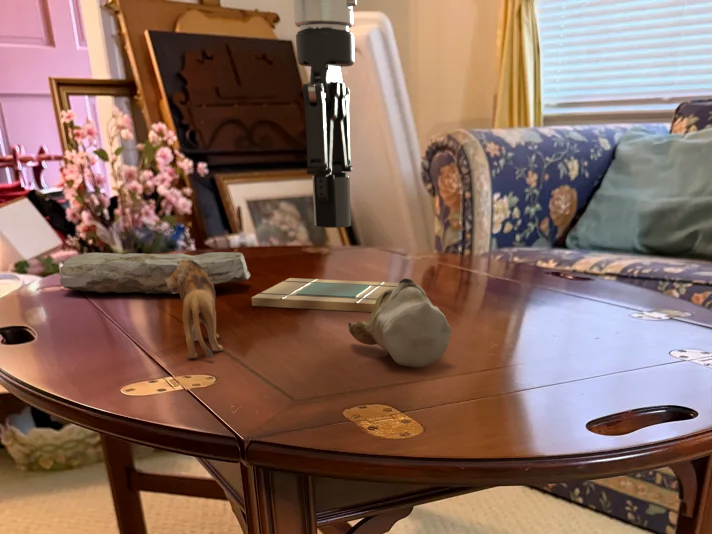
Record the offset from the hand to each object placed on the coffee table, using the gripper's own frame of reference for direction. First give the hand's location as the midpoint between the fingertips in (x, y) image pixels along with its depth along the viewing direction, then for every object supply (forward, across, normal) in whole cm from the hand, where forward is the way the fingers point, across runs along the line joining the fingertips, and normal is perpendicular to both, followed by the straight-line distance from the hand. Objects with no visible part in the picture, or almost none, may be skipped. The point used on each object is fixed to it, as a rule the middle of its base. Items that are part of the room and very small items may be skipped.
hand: (332, 223), depth 109 cm
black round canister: (0, 0, 0) cm, 0 cm away
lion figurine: (+11, -30, +8) cm, 33 cm away
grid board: (+10, 0, 0) cm, 10 cm away
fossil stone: (+11, 0, +29) cm, 30 cm away
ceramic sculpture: (+11, -29, -17) cm, 35 cm away
